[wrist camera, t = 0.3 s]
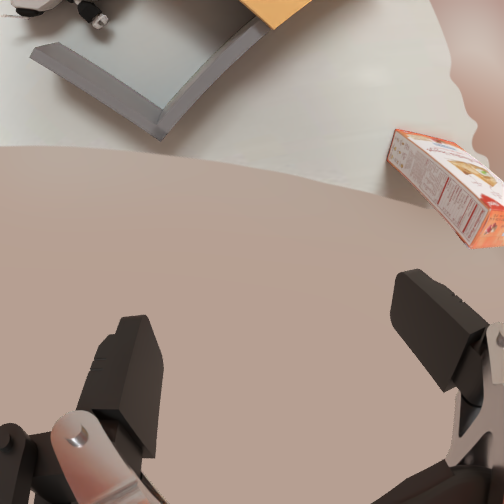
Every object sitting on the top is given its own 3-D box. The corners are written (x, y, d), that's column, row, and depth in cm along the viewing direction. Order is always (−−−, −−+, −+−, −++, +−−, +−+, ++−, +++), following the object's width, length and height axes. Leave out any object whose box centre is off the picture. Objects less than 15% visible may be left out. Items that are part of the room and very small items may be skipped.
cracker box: (454, 139, 39) (539, 214, 24) (443, 168, 43) (519, 247, 28) (394, 125, 37) (493, 209, 22) (384, 160, 41) (468, 253, 26)
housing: (53, 50, 22) (29, 57, 18) (155, -69, 15) (147, -85, 10) (166, 123, 33) (160, 141, 28) (274, 16, 25) (289, 15, 21)
